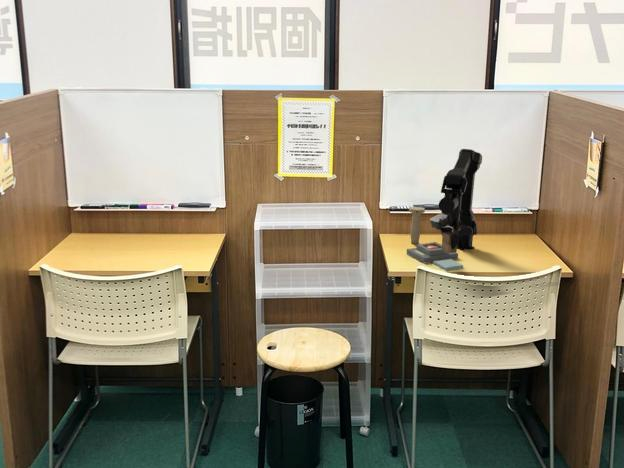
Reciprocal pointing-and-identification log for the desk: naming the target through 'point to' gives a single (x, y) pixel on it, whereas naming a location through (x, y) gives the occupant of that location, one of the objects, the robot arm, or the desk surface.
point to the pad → (448, 264)
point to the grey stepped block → (430, 253)
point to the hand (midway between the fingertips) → (449, 247)
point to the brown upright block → (447, 243)
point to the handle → (416, 223)
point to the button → (432, 247)
